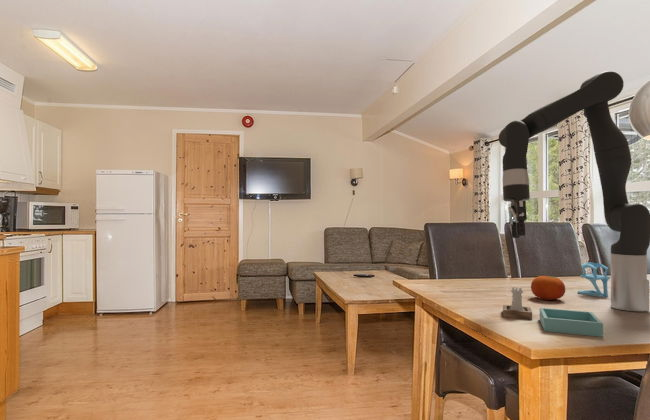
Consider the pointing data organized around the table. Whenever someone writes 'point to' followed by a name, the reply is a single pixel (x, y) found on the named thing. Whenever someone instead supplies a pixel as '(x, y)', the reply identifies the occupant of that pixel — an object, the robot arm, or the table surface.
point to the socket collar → (517, 312)
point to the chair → (595, 277)
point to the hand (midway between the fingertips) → (518, 236)
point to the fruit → (548, 287)
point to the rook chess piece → (516, 299)
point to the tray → (571, 322)
